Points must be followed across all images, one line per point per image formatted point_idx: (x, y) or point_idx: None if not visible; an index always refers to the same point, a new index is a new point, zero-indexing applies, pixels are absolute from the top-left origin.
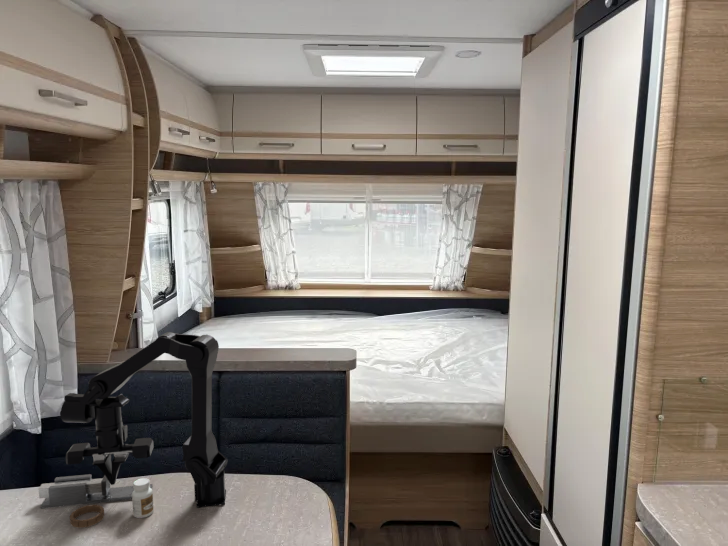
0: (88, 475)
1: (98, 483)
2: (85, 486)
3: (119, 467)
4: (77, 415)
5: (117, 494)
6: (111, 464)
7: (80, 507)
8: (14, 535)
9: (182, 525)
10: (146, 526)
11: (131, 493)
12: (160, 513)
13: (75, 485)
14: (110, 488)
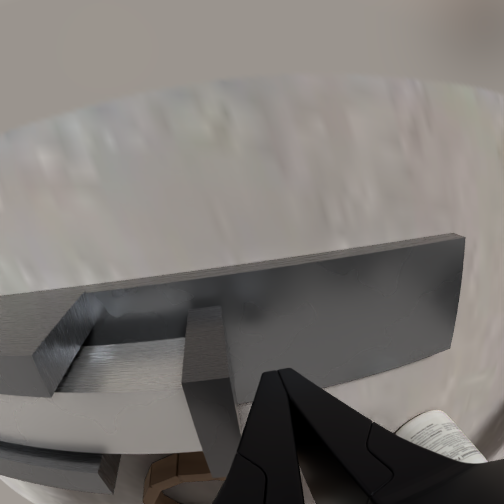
0: (25, 377)
1: (180, 452)
2: (112, 480)
3: (385, 437)
4: None
5: (295, 361)
6: (301, 492)
7: (154, 483)
8: (35, 499)
9: (485, 443)
10: None
11: (375, 347)
12: (459, 421)
13: (52, 482)
14: (213, 283)
